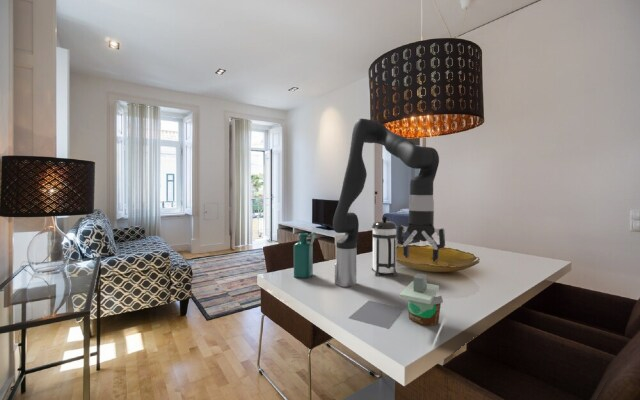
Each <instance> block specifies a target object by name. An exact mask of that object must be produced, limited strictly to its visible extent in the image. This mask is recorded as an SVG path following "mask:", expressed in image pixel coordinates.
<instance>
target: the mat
mask: <svg viewBox="0 0 640 400" xmlns="http://www.w3.org/2000/svg"><path fill="white" fill-rule="evenodd" d="M405 309H406V308H405V307H403V306H402V307H401V306H398V305H392V304H388V303H383V302H378V301H374V300H370V299H369V300H368V301H367V302H365V303H364V304H362V306H360V307H359V308H358V309H357V310H356V311H355V312H353V313H352V314H351V315H350V316H348V319H350V320H354V321H357V322H362V323H364V324H369V325H373V326H377V327H380V328H384V329H389V330H390V328H391V327H392V326H393V324H394V323H395V321H397V319H398V318H399V317H400V316H401V314H402V313H403V311H405Z"/></svg>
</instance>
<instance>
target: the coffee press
mask: <svg viewBox="0 0 640 400" xmlns="http://www.w3.org/2000/svg"><path fill="white" fill-rule="evenodd" d="M371 228H372V233H371V234H372V235H371V237H372V268H371V271H372V270H374V271H373V272H375V273H374V276H376V277H379V275H380V274H392V275H393V276H394V277H397V276H398V272H397V238H398V235H397V229H398V226H397V224H396V223H395V222H393V221H388V220H387V216H386V215H385V216H383V217H382V220H379V221H375V222H374V223H372V226H371Z"/></svg>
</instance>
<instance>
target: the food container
mask: <svg viewBox="0 0 640 400" xmlns="http://www.w3.org/2000/svg"><path fill="white" fill-rule="evenodd" d="M406 300H407V299H406ZM443 303H444V299H443V297H442V295H439V296H435V297H434V298H433V300H432V302H431V303H430V304H426V303H421V302H417V301H412V300H407V309H408V310H407V311H408V318H409V320H410V321H411V322H412V323H414V324H416V325H420V326H425V327H426V326H427V327H430V326H431V327H432V326H433V327H434V326H436V325H438V324H439V321H440V313H441V312H440V311H441V305H442V304H443Z"/></svg>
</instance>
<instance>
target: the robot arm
mask: <svg viewBox="0 0 640 400" xmlns="http://www.w3.org/2000/svg"><path fill="white" fill-rule="evenodd" d="M351 134H352V135H351V139H350V140H351V142H350V150H349V155H348V161H347V165H346V169H345V173H344V178H343V181H342V182H343V183H342V187H341V191H340V197H339V200H338V203H337V207H336V209H335V212H334V215H333V218H332V228H333V231H334V232H335V233H337V234H344V236H342V238H339V239H338V240H337V241H336V262H335V263H334V284H335V285H337V286H339V287H342V288H350V287H351V288H352V287H354V286H356V285H357V244H358V241H359V226H360V225H359V223H360V222H359V218H358V215H357V214H356V213H354V212H349V210H350V208H351V206H352V204H353V203H354V202H355V201H356V200H357V198H359V196H360V195H361V193H362V192H363V190H364V188H365V184H366V180H367V176H368V173H367V168H366V166H365V162H364V159H363V150H364V149H363V148H364V144H366V143H367V144H377V145H382V146H384V148H385V150H386V151H387V152H388V153H389V154H390V155H393V156H394V157H396V158H398V159H399V160H400V161H402V163H403V164H404V165H406V166H407V167H409V168H411V169H418V170H419V172H418V175H416V176H413V177H412V178H411V179H410V183H409V201H408V226H405V225H399V226H398V232H397V233H398V235H397V244H398V245H402V247H403V257H405V258H406V259H409V257H410V245H409V244H411V242H412V241H413V240H414V241H421V242H428V244H430V246H431V247H432V248H433V249H432V262H436V261H438V260H439V258H440V257H439V250H441V249H444V248H445V247H446V237H445V236H446V235H445V233H446V232H445V228H443V227H442V228H435V226H434V221H435V220H434V218H435V217H434V216H435V215H434V214H435V201H434V182H435V178H436V176H437V175H436V174H437V171H438V167H439V164H440V156H439V152H438V151H437V150H436V148H434V147H430V146H419V145H416V143H415V142H414V141H412V140H411V139H408V138H407V137H404V136H403V135H400V134H398V133H396V132H393V131H391V130H390V129H389V128H387V127H385V126H384V125H383V124H382V123H381V122H379V121H378V120H374V119H367V118H358V119H357V120H356V121H355V123H354V124H353V129H352V133H351ZM406 232H408V233H409V236H408V237H407V238H406V240H405V239H404V237H405V233H406ZM435 233H436V235H437V236H438V237H439V238H438V240H439V244H438V243H437V241H436V240H435V238H434V236H433V235H434V234H435Z"/></svg>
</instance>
